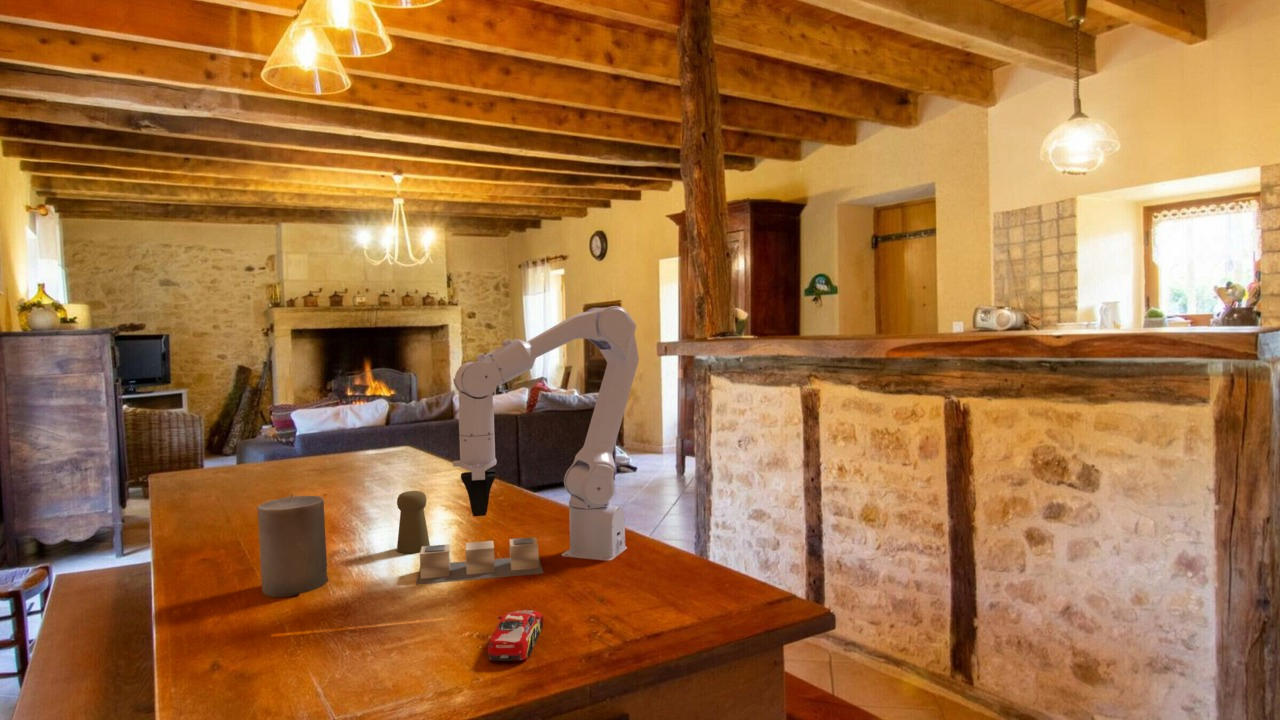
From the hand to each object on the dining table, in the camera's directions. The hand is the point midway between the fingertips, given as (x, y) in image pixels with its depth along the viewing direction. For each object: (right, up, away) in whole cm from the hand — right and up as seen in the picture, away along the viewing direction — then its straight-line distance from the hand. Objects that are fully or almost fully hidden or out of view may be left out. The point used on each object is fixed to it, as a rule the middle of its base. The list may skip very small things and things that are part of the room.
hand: (479, 515), depth 126 cm
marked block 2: (+7, -9, +2) cm, 11 cm away
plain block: (0, -9, 0) cm, 9 cm away
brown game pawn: (-15, -9, +13) cm, 22 cm away
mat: (0, -9, 0) cm, 9 cm away
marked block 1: (-7, -9, -2) cm, 12 cm away
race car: (+11, -11, -29) cm, 33 cm away
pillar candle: (-28, -11, -6) cm, 31 cm away
